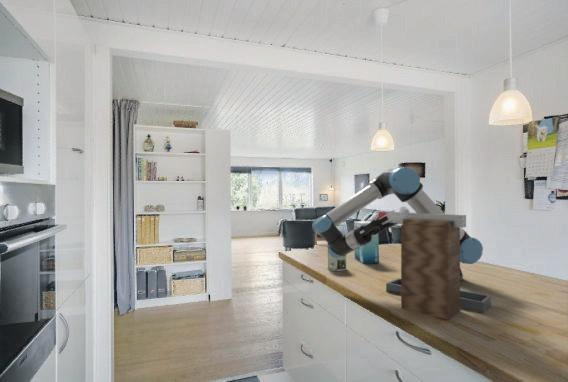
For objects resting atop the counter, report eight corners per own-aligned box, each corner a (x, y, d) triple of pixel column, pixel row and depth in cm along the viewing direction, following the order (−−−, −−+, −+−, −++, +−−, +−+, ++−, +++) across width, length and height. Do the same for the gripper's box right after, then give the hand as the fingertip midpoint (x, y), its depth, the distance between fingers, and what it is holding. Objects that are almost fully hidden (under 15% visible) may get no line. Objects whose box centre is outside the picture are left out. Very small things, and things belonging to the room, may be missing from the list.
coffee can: (346, 267, 184) (346, 242, 185) (346, 271, 174) (346, 244, 174) (328, 266, 186) (328, 241, 187) (326, 270, 176) (326, 244, 177)
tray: (386, 291, 138) (386, 283, 139) (397, 286, 146) (397, 278, 146) (483, 312, 113) (483, 302, 113) (491, 305, 121) (491, 295, 121)
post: (401, 308, 118) (401, 219, 118) (414, 300, 127) (414, 217, 127) (448, 320, 107) (448, 221, 107) (460, 310, 116) (459, 219, 116)
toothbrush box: (353, 258, 211) (353, 220, 211) (369, 258, 212) (369, 220, 212) (362, 263, 194) (362, 222, 194) (379, 263, 194) (379, 222, 195)
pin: (378, 222, 129) (378, 212, 129) (383, 221, 132) (383, 211, 132) (462, 227, 108) (462, 215, 108) (466, 226, 111) (466, 215, 111)
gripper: (377, 242, 144) (420, 220, 131) (346, 248, 127) (393, 223, 114) (369, 227, 147) (410, 203, 134) (338, 231, 130) (383, 204, 117)
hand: (402, 213), depth 124 cm, fingers open, 11 cm apart
